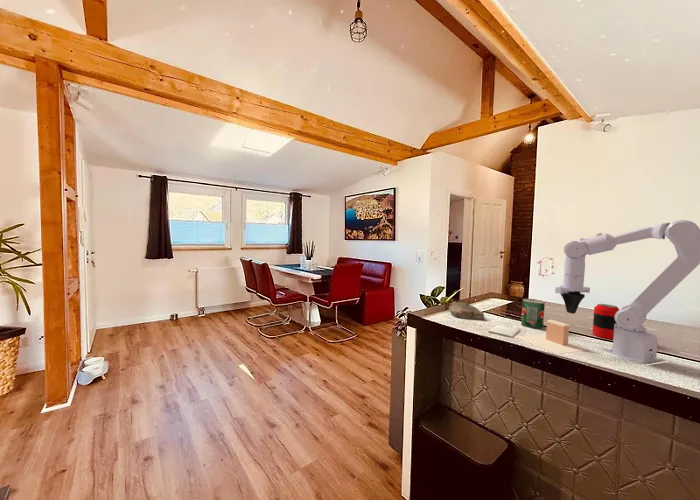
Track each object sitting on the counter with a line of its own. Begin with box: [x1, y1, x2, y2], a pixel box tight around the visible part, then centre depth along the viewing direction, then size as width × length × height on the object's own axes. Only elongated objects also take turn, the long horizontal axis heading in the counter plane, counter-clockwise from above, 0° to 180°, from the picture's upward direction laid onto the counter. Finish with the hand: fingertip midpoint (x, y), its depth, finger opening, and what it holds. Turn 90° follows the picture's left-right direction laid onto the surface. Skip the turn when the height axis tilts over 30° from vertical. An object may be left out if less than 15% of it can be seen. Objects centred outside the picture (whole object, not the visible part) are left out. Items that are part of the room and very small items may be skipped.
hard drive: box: [487, 324, 521, 339], centre depth 111 cm, size 2×8×12 cm
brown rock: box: [448, 301, 485, 321], centre depth 138 cm, size 14×5×20 cm
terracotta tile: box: [545, 319, 570, 345], centre depth 101 cm, size 6×2×7 cm, turn 18°
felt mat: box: [514, 333, 589, 355], centre depth 100 cm, size 16×14×1 cm
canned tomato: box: [520, 298, 546, 330], centre depth 120 cm, size 8×8×11 cm
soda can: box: [592, 303, 620, 341], centre depth 110 cm, size 8×8×12 cm
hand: (570, 312), depth 103 cm, fingers closed
